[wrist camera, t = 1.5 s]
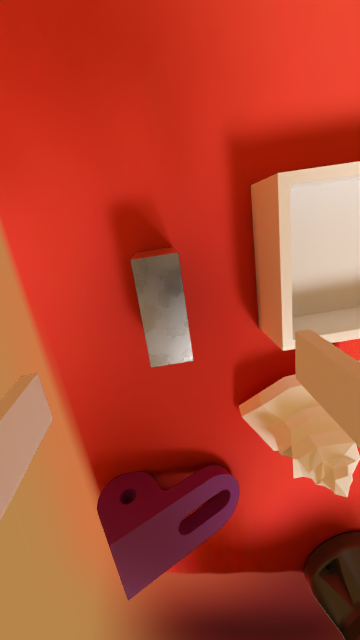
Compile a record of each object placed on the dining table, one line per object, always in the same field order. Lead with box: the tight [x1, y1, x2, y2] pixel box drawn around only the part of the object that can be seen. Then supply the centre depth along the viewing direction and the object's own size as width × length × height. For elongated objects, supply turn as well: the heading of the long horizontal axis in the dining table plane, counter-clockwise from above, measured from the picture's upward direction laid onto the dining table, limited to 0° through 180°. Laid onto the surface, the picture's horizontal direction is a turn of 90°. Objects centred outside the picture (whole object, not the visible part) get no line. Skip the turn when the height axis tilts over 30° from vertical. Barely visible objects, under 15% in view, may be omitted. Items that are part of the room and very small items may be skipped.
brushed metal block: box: [131, 247, 193, 368], centre depth 29 cm, size 10×4×8 cm, turn 8°
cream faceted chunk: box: [239, 360, 360, 497], centre depth 33 cm, size 12×15×14 cm
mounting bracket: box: [97, 465, 239, 600], centre depth 40 cm, size 10×8×18 cm
